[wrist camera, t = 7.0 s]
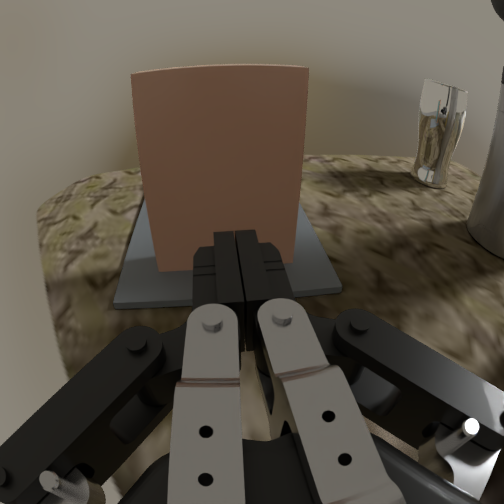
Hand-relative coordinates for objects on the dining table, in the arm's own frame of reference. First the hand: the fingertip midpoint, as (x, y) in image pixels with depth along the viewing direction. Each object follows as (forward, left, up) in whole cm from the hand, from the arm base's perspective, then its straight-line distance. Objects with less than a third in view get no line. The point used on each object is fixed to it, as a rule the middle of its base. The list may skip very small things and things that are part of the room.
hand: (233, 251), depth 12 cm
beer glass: (-38, -14, -9) cm, 41 cm away
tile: (-3, -9, -8) cm, 13 cm away
